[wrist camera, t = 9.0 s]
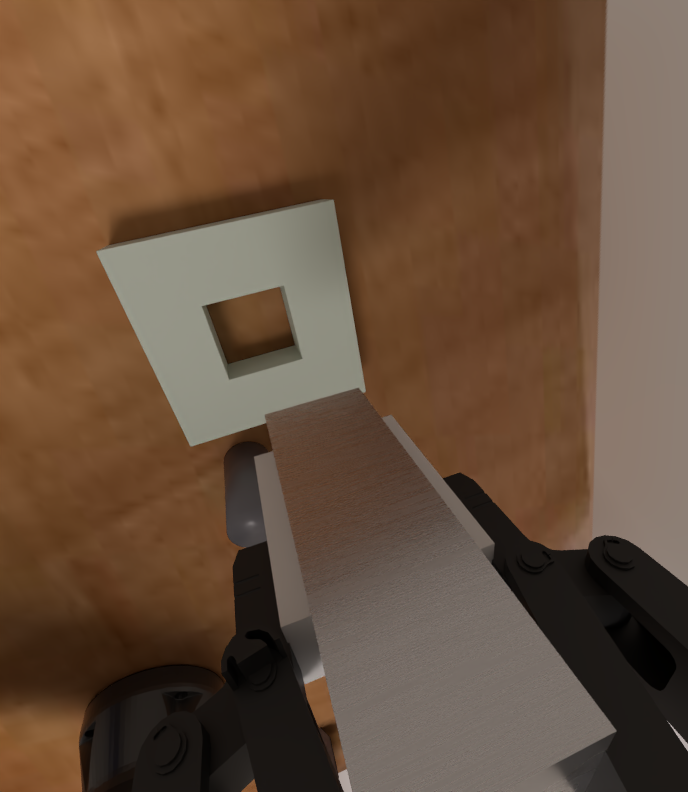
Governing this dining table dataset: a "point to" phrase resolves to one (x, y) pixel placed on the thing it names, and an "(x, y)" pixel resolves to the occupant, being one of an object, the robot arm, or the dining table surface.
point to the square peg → (421, 623)
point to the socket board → (229, 278)
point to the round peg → (243, 495)
